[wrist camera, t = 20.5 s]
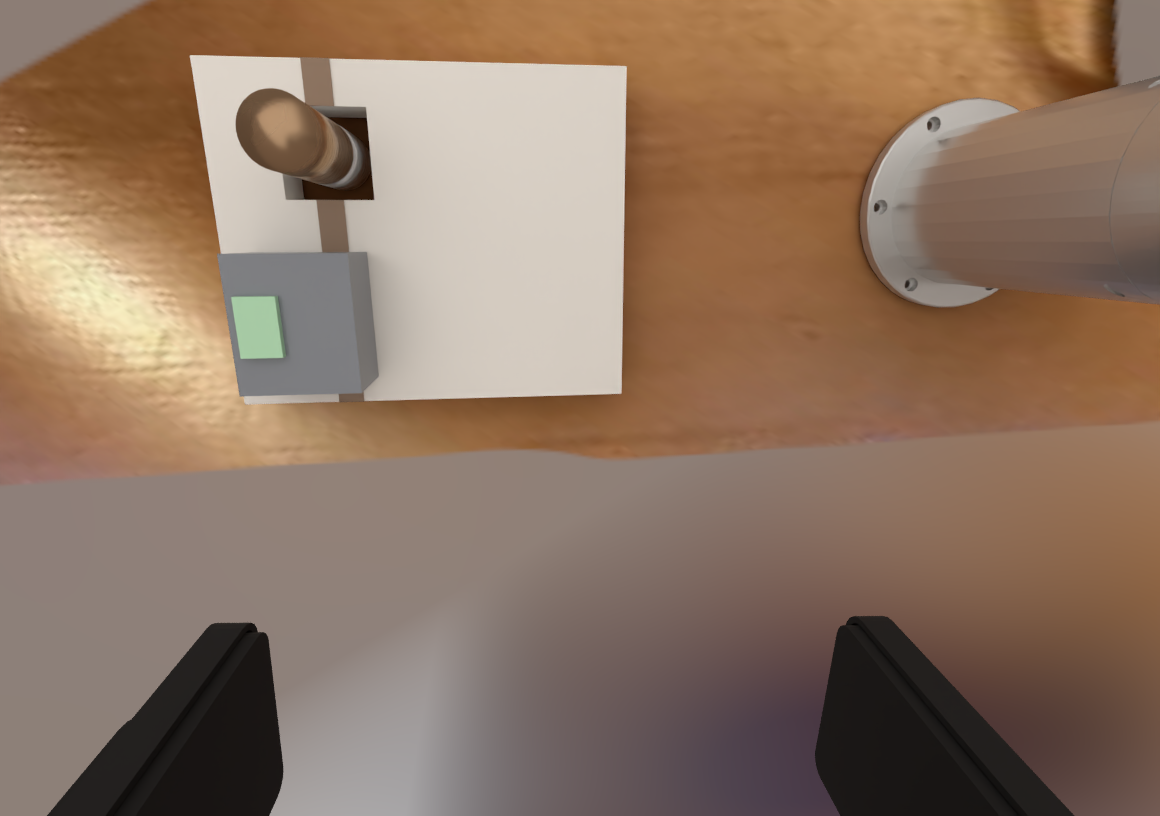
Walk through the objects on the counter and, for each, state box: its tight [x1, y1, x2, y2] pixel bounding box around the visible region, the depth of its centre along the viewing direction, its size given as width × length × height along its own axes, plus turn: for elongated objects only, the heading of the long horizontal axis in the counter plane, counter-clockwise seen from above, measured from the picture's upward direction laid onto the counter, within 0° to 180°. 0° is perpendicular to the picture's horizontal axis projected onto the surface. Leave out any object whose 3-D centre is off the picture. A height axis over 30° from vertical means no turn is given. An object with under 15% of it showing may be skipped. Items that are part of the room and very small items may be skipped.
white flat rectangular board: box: [190, 55, 627, 404], centre depth 35 cm, size 22×18×3 cm
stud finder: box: [217, 252, 379, 396], centre depth 32 cm, size 6×7×4 cm
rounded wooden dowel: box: [235, 88, 371, 191], centre depth 30 cm, size 3×3×10 cm
